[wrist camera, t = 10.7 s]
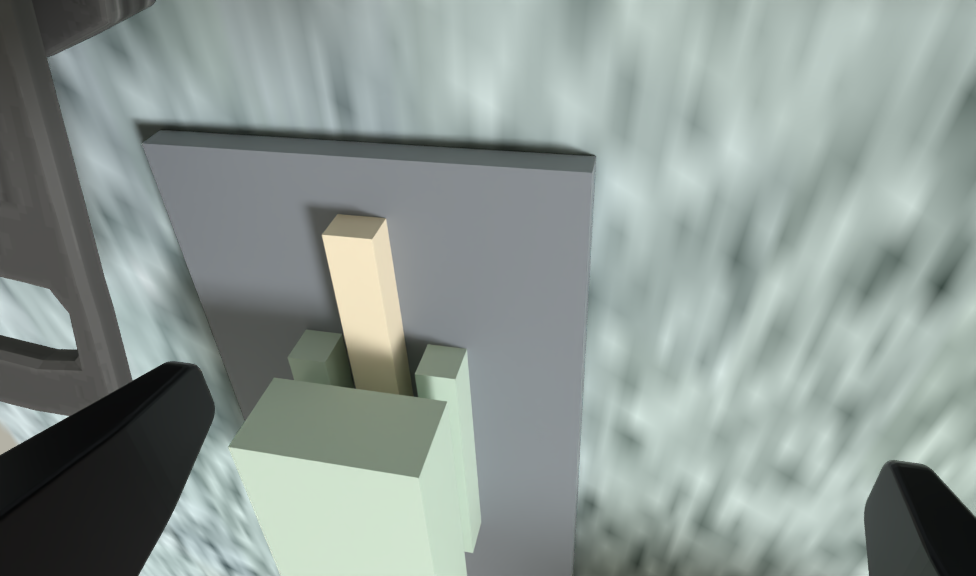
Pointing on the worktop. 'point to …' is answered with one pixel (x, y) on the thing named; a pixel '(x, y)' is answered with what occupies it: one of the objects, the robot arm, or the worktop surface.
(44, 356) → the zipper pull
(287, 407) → the cabinet block
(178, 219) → the cleat board
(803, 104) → the worktop surface
